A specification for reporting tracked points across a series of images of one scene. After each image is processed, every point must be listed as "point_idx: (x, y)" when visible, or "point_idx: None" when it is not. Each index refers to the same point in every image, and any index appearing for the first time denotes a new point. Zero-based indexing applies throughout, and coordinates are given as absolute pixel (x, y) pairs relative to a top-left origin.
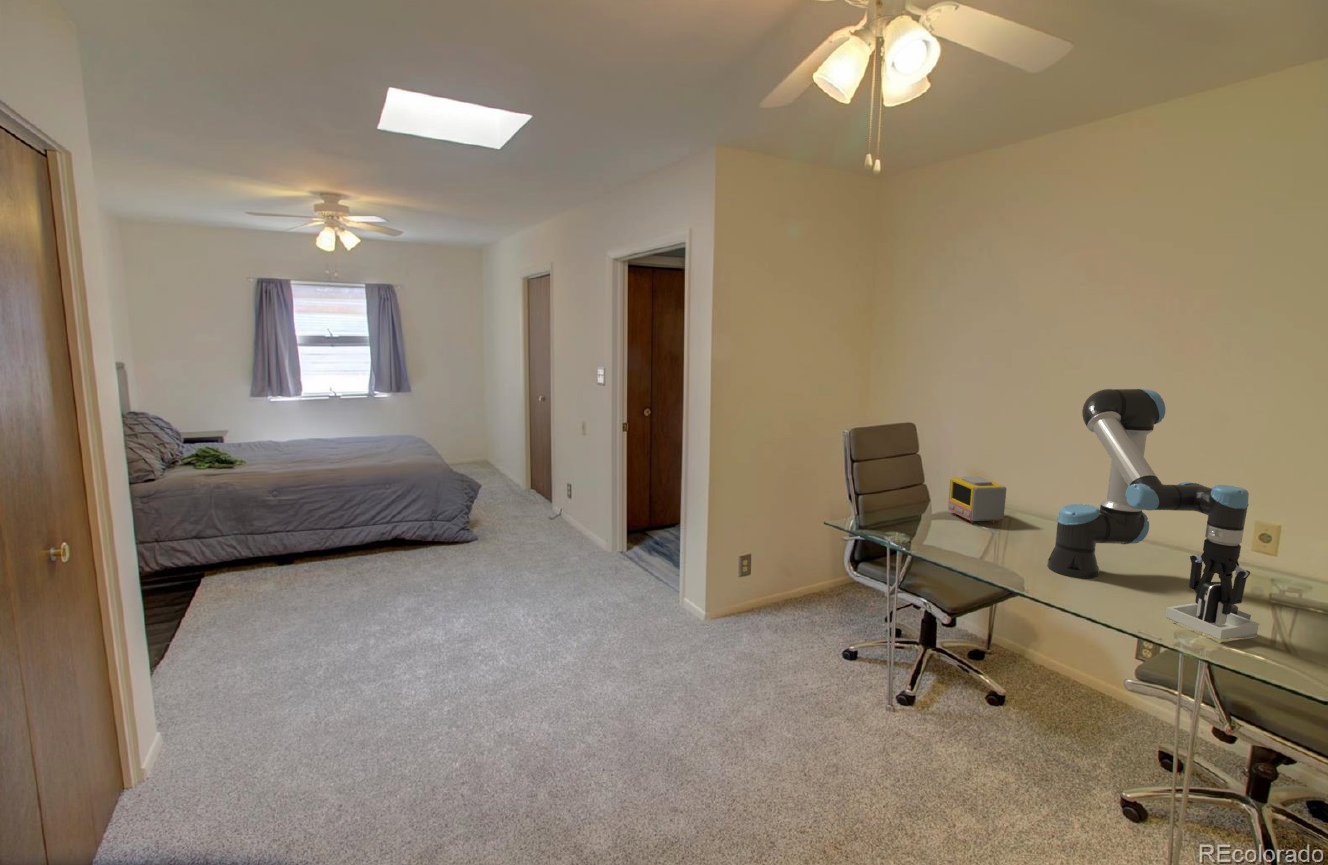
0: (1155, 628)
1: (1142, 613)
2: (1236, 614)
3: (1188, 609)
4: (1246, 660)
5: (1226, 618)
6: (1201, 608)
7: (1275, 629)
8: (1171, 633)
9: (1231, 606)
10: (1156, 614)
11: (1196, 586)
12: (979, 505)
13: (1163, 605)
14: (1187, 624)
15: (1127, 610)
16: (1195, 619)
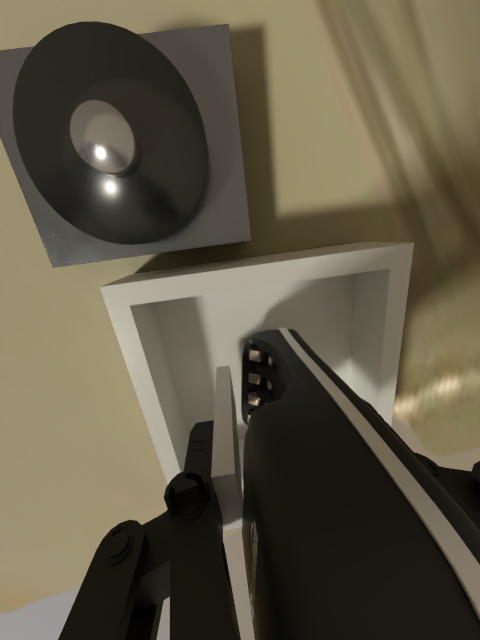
0: None
1: (128, 473)
2: (210, 140)
3: (165, 394)
4: (440, 432)
5: (301, 338)
6: (237, 430)
7: (337, 8)
8: None
9: (401, 439)
10: (135, 440)
11: (159, 596)
12: None
13: (38, 353)
14: None
15: (105, 497)
16: None
